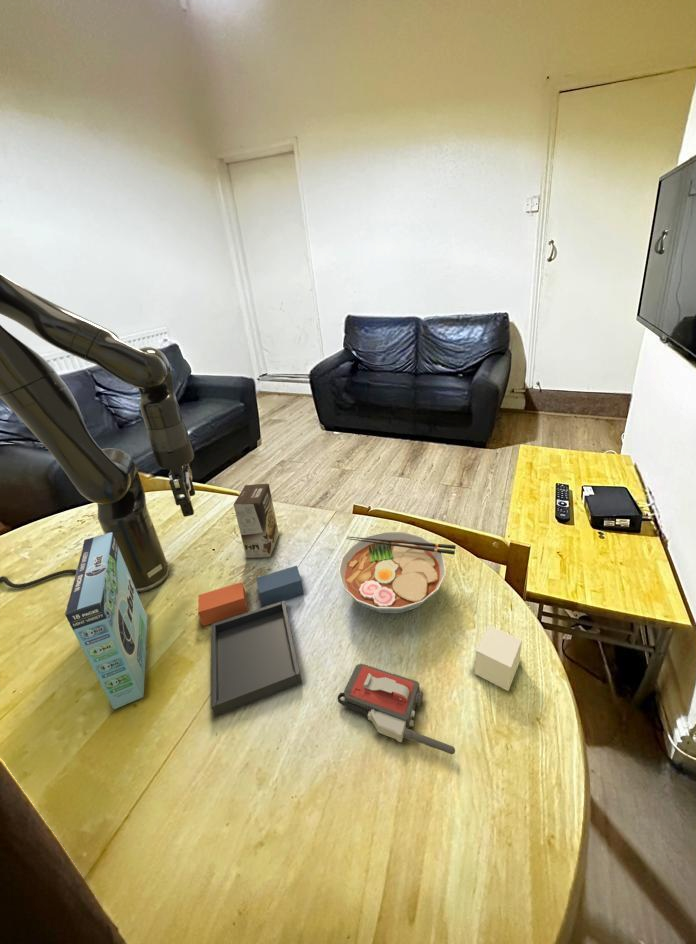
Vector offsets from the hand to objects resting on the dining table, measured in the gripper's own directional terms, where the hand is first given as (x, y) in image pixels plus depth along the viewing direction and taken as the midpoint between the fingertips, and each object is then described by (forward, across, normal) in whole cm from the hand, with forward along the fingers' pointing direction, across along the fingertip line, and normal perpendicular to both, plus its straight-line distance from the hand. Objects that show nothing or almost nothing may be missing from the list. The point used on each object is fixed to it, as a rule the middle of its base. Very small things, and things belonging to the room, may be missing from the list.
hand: (189, 505), depth 95 cm
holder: (+17, +32, +9) cm, 37 cm away
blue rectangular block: (+17, +18, +16) cm, 29 cm away
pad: (+17, +18, +4) cm, 25 cm away
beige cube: (+17, +52, +49) cm, 73 cm away
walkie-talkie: (+17, +52, +30) cm, 62 cm away
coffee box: (+17, 0, +14) cm, 22 cm away
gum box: (+17, +23, -13) cm, 31 cm away
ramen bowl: (+17, +28, +39) cm, 51 cm away
